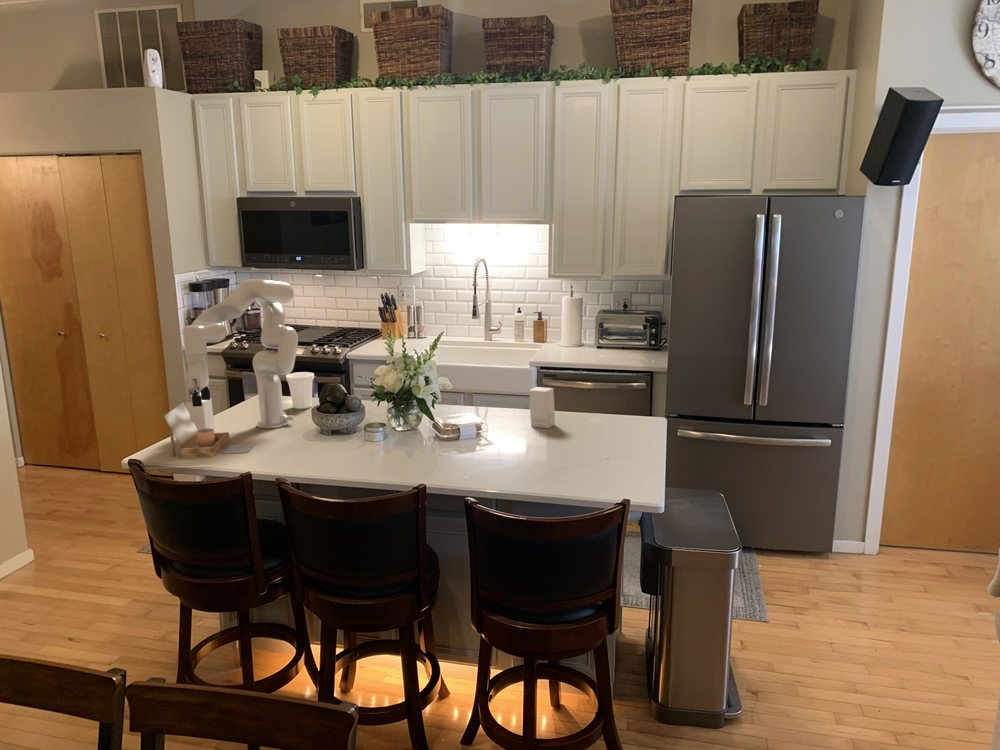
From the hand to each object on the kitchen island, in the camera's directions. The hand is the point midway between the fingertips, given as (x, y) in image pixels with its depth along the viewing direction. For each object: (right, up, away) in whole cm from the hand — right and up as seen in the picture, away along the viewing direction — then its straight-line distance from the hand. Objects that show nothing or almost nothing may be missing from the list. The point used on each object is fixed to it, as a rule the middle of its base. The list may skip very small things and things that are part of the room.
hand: (201, 403), depth 284 cm
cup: (+22, -5, +63) cm, 67 cm away
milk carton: (-8, -14, +21) cm, 27 cm away
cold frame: (-2, -18, +4) cm, 18 cm away
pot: (+1, -17, +4) cm, 18 cm away
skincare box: (+130, -10, +24) cm, 132 cm away
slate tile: (+13, -18, +2) cm, 22 cm away
